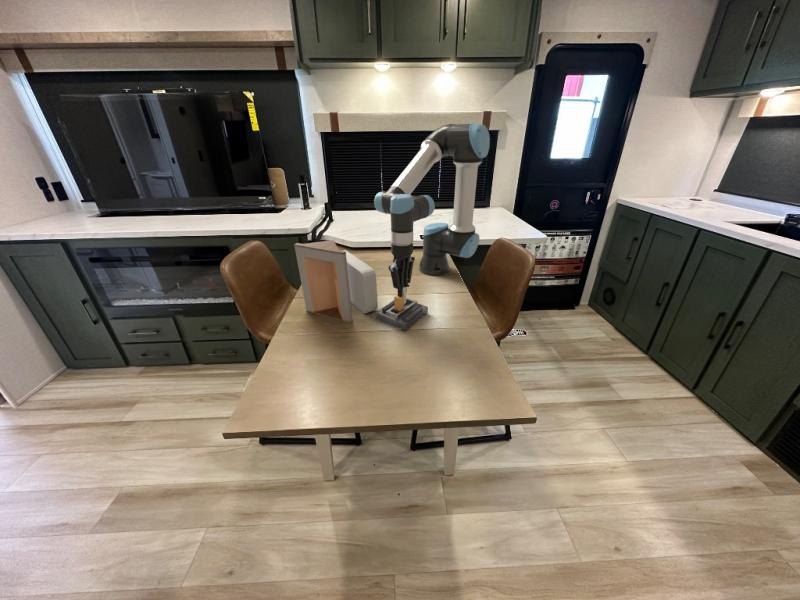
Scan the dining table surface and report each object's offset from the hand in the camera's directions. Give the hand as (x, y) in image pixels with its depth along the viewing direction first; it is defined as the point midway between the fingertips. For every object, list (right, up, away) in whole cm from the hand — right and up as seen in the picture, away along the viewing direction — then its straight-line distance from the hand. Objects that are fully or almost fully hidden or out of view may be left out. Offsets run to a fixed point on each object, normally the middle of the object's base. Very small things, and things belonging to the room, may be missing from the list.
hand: (402, 302), depth 118 cm
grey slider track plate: (0, -3, +1) cm, 3 cm away
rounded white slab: (-20, +1, +15) cm, 25 cm away
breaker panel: (0, -5, +3) cm, 6 cm away
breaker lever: (-1, -3, 0) cm, 4 cm away
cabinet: (-27, -4, +7) cm, 28 cm away
